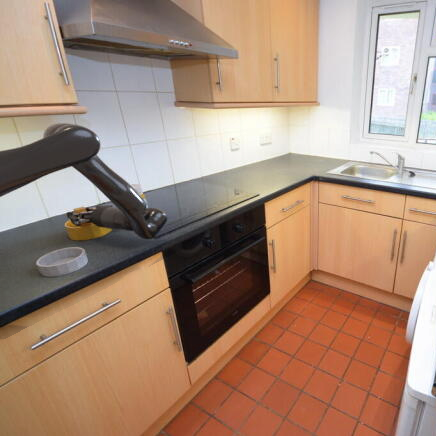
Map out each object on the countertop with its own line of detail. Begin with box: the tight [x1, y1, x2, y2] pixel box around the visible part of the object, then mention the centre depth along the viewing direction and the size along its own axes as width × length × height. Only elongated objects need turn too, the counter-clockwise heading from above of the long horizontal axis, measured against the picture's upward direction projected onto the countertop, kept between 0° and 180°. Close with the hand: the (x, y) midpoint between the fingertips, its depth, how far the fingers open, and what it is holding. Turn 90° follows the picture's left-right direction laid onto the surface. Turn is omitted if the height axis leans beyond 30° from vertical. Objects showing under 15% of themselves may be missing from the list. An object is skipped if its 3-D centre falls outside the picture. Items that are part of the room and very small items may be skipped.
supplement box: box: [73, 206, 91, 227], centre depth 107 cm, size 3×3×10 cm
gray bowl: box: [35, 246, 89, 278], centre depth 90 cm, size 11×11×4 cm
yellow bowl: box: [64, 219, 113, 241], centre depth 110 cm, size 13×13×5 cm
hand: (75, 212), depth 106 cm, fingers closed on supplement box, 4 cm apart
